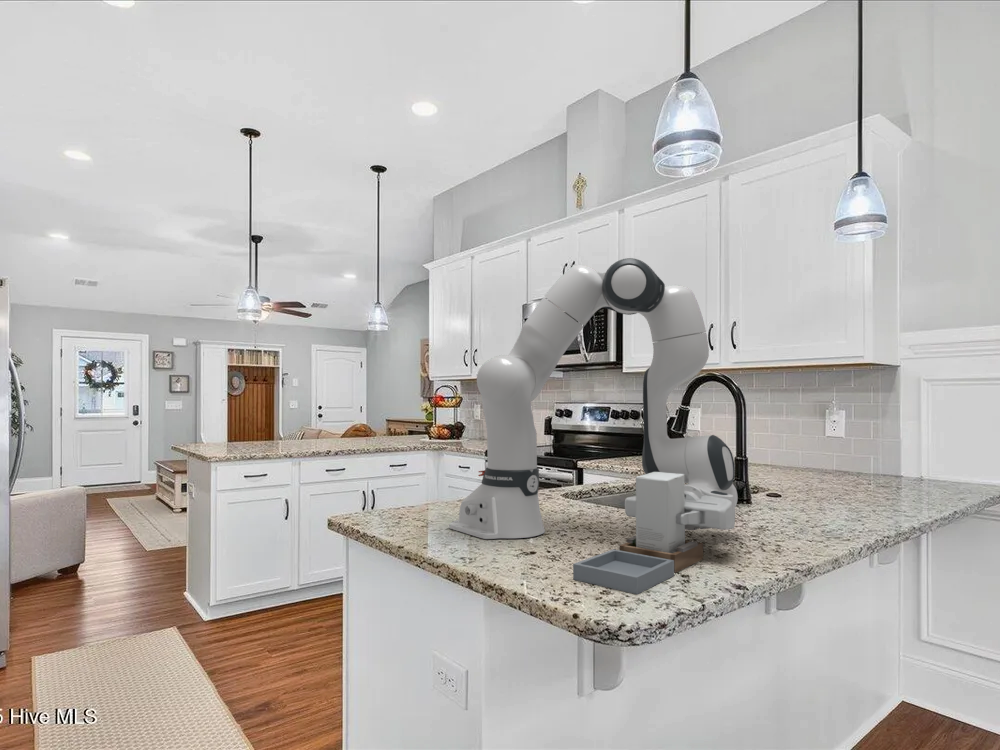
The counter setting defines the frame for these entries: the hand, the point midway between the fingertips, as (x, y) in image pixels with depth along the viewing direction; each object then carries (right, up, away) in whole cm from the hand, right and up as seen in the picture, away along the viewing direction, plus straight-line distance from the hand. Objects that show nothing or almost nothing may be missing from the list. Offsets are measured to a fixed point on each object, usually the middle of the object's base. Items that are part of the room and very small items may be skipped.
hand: (658, 516), depth 109 cm
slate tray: (-8, -8, -10) cm, 15 cm away
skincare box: (+1, -8, 0) cm, 8 cm away
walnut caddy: (+1, -8, 0) cm, 8 cm away
